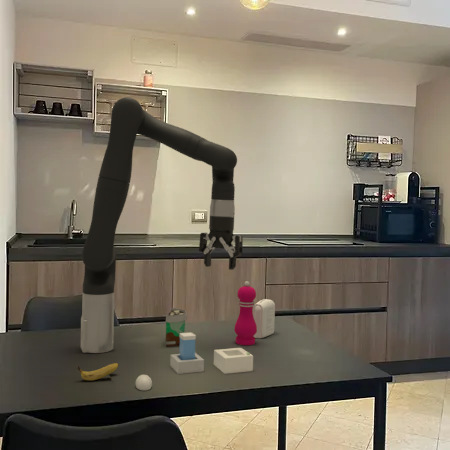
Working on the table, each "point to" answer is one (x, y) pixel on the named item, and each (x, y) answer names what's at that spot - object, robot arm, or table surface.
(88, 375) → the banana
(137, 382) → the egg
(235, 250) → the robot arm
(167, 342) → the food container
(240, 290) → the pepper mill
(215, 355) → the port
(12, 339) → the table surface
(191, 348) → the plug
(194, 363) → the box
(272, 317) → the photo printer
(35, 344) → the table surface
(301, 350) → the table surface
